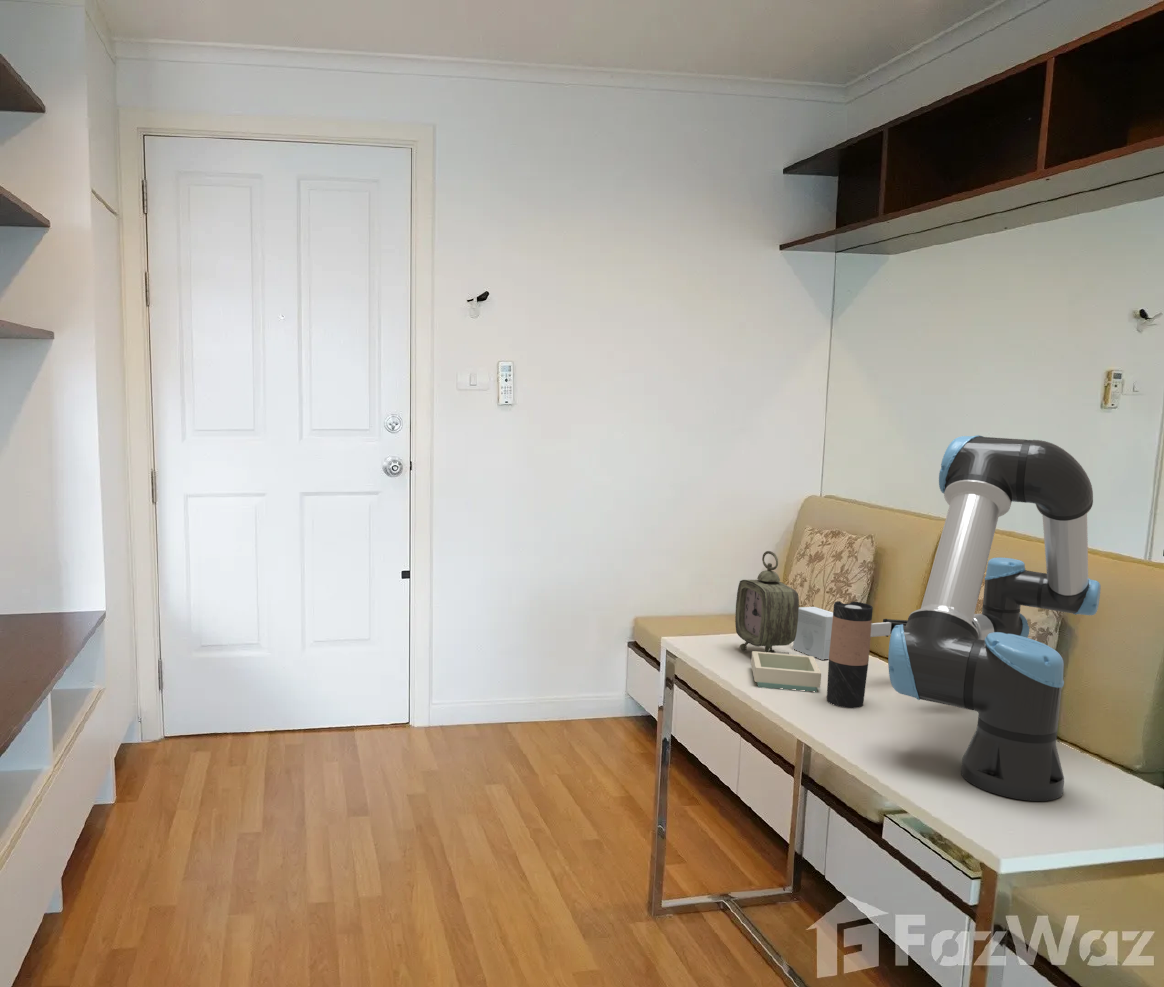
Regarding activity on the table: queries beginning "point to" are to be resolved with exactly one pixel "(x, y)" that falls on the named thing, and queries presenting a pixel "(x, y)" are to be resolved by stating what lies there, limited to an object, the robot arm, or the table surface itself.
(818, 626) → the skincare box
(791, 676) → the rectangular tray
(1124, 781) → the table surface
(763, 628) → the tabletop clock
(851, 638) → the travel mug
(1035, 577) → the robot arm
